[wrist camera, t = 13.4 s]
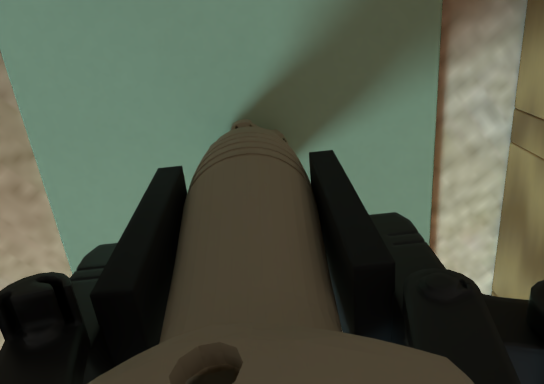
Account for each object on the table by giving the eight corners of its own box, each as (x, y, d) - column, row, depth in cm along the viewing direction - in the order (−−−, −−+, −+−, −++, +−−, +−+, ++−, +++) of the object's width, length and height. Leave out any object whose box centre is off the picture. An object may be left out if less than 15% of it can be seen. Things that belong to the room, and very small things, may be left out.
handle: (333, 191, 19) (541, 652, 6) (190, 220, 20) (55, 733, 6) (316, 81, 18) (567, 373, 4) (158, 114, 18) (-153, 505, 4)
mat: (-44, -103, 15) (-51, -106, 15) (446, -153, 15) (451, -156, 15) (100, 347, 23) (97, 352, 23) (423, 312, 23) (425, 317, 23)
